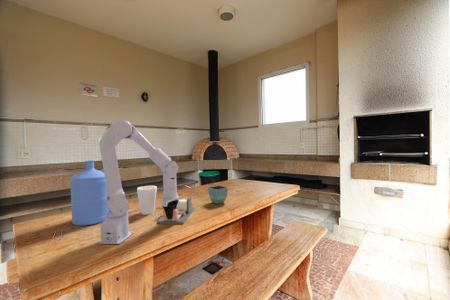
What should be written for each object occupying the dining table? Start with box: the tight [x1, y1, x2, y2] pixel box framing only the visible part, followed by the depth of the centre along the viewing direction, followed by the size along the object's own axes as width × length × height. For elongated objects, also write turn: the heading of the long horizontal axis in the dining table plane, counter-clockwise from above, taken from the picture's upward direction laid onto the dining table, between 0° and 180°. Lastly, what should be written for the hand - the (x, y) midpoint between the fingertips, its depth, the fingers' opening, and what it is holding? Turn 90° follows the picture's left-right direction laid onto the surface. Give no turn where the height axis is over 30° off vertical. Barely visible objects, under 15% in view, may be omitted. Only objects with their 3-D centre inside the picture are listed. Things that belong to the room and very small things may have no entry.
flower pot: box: [207, 185, 229, 205], centre depth 122 cm, size 9×9×9 cm
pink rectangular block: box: [162, 209, 183, 221], centre depth 96 cm, size 10×6×4 cm, turn 175°
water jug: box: [69, 160, 109, 227], centre depth 97 cm, size 16×16×28 cm
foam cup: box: [136, 185, 158, 216], centre depth 106 cm, size 10×9×13 cm
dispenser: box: [156, 196, 195, 225], centre depth 101 cm, size 20×12×8 cm, turn 174°
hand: (170, 217), depth 92 cm, fingers closed on pink rectangular block, 2 cm apart
